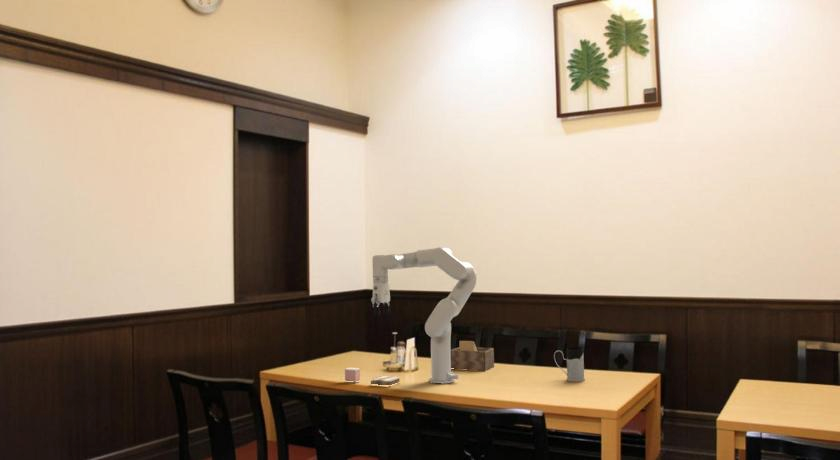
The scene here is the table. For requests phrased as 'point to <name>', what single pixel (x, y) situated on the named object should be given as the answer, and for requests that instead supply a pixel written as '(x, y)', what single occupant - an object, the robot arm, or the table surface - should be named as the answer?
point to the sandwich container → (467, 346)
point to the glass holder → (574, 364)
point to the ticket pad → (385, 380)
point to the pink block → (352, 374)
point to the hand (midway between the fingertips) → (381, 314)
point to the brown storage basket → (473, 359)
